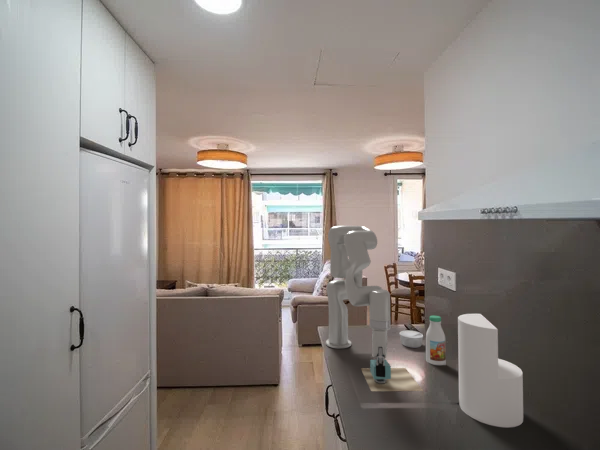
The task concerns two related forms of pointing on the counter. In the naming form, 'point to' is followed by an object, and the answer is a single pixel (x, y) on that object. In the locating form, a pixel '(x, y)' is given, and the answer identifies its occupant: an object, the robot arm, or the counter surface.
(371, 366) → the teal knob cube
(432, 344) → the milk bottle
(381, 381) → the stud
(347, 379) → the counter surface
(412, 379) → the board
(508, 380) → the white stepped round block
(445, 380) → the counter surface
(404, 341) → the ramekin
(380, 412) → the counter surface
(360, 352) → the counter surface
